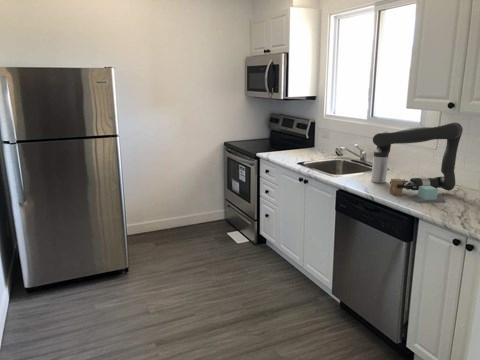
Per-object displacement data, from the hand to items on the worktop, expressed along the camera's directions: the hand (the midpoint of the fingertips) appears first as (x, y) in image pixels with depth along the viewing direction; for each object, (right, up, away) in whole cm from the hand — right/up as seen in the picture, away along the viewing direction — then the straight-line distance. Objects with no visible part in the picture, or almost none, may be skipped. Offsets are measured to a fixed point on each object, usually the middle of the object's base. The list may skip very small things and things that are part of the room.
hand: (393, 184), depth 229 cm
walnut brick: (+2, -6, +2) cm, 6 cm away
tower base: (+15, -9, -9) cm, 20 cm away
